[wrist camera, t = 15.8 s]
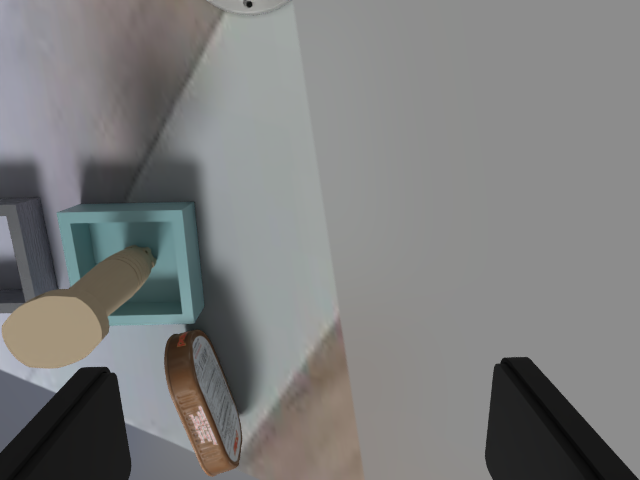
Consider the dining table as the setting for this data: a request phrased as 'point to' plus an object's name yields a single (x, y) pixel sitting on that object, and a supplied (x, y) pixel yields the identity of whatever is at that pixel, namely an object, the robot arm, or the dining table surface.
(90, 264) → the tray
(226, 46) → the dining table surface
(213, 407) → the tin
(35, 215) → the collar
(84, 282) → the handle
